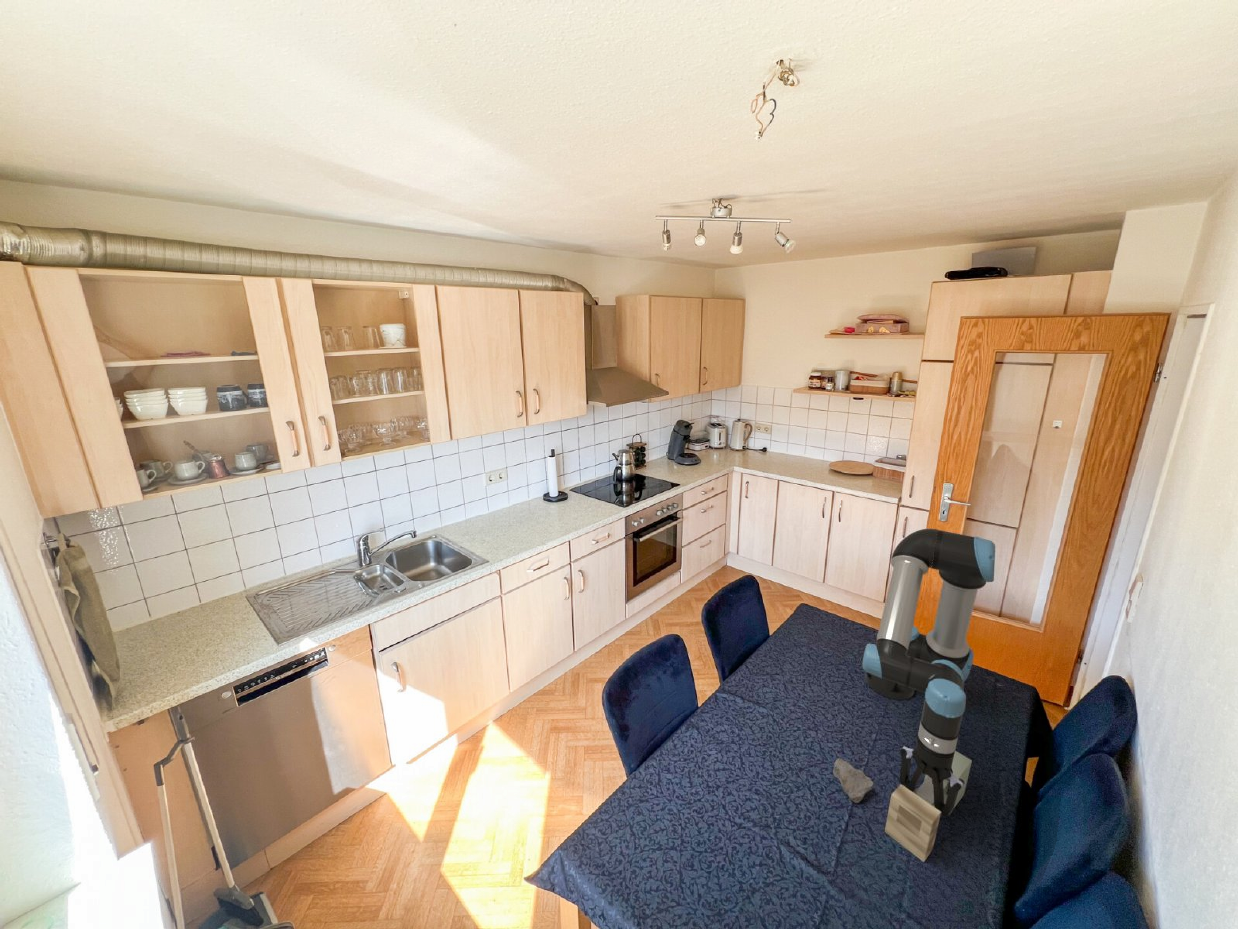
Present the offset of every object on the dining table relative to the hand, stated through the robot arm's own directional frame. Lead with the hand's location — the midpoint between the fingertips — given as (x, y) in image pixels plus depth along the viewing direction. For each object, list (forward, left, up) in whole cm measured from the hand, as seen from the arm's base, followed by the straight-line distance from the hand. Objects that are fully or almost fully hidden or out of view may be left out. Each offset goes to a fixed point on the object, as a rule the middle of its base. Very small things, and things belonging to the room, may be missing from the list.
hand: (920, 818), depth 121 cm
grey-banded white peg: (-3, 0, +3) cm, 5 cm away
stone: (+3, -16, -3) cm, 17 cm away
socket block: (+6, 0, -3) cm, 6 cm away
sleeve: (-14, 0, -3) cm, 15 cm away
